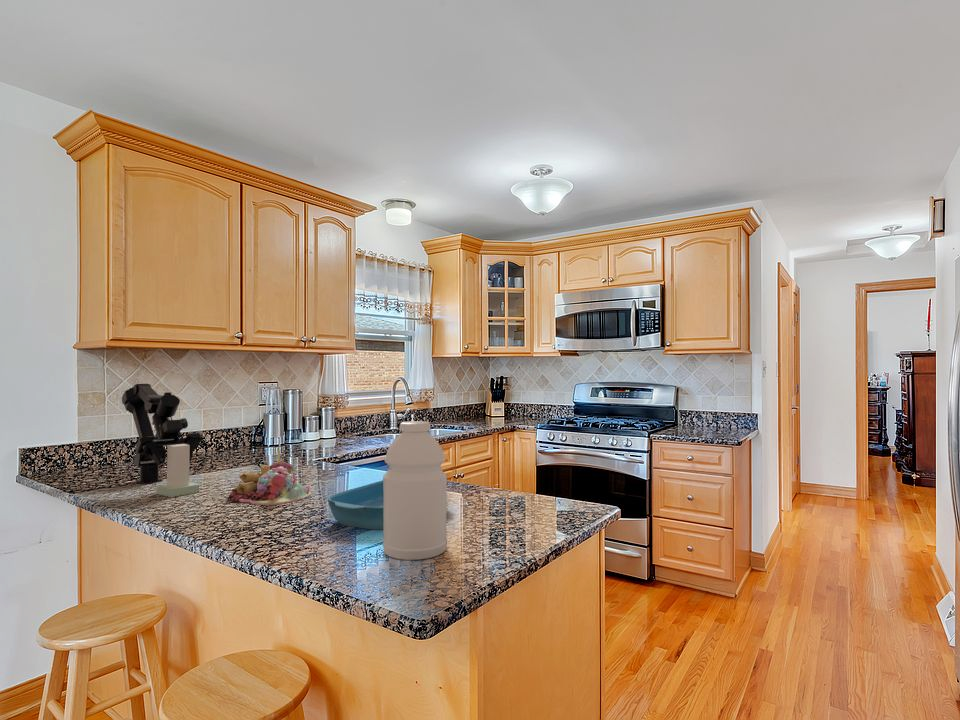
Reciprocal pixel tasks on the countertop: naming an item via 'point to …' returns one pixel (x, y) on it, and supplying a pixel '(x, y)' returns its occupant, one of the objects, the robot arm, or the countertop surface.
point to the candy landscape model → (269, 487)
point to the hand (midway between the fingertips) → (175, 462)
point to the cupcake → (282, 464)
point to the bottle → (414, 495)
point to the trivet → (177, 490)
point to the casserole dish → (359, 506)
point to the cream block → (178, 465)
